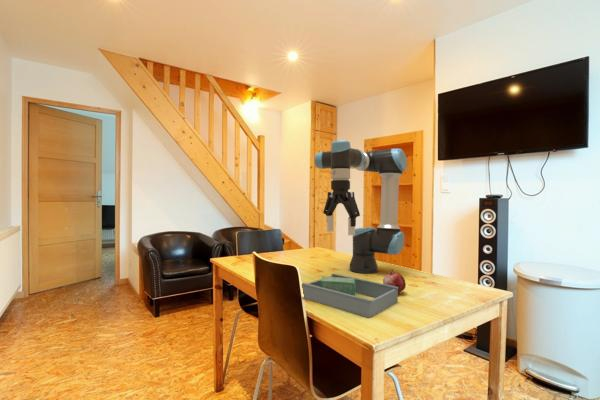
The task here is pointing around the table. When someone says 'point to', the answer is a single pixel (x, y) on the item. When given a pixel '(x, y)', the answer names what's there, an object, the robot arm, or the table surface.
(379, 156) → the robot arm
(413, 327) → the table surface
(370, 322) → the table surface
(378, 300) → the tray
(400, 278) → the fruit
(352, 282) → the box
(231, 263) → the table surface
